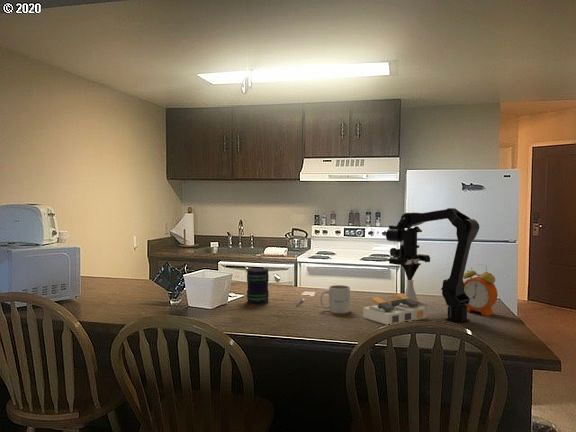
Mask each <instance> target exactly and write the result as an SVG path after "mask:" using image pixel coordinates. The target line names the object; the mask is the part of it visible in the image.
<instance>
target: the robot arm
mask: <svg viewBox="0 0 576 432" xmlns="http://www.w3.org/2000/svg"><path fill="white" fill-rule="evenodd" d="M439 220H449V222H450V223H451V225H453V226H454V227H455V228H456V237H457V238H456V239H457V244H456V249H455V253H454V257H453V258H454V259H453V263H452V266H451V271H450V275H449V278H447V279H443V281H442V287H441V288H440V291H441V295H442V298H444V301H445V305H446V306H447V317H446V318H445V320H446V321H450V322H453V323H458V324H460V323H466V322H469V321H471V320H470V319H469V318H468V312H467V305H465V304H469V301H470V298H469V297H468V296H467V295H466V294H465V292H464V282H465V281H464V279H463V276H464V274H465V271H466V267H467V262H468V258H469V255H470V254H469V253H470V249H471V245H472V243H473V241H475V238H476V237H477V235H478V233H479V231H480V230H479V229H480V223H479V222H478V221H477V220H476V219H474V218H470V217H469V216H467V215H466V214H464V213H462V212H461V211H459V210H458V209H457V208H455V207H450V208H449V207H447V208H445V209H440V210H434V211H433V210H432V211H426V212H404V213H402V215H401V217H400V220H399V221H398V223H397V224H396V225H389V226H388V229H387V231H386V232H385V238H386V240H387V242H396V243H401V242H402V244H401V245H400V246H399V247H400V248H396V247H393V248H390V250H389V255H390V257H389V258H388V263H389V264H390V265H397V266H402V268H403V270H404V272H405V275H406V280H413V278H414V276H415V274H416V272H417V270H418V269H419V267H420V266H422V263H419V262H420V261H421V262H424V263H430V262H431V256H430V255H428V254H421V253H420V254H419V253H418V249H419V248H420V245H419V244H418V233H422V232H423V230H422V229H421V228H420V227H419V225H422V224H424V223H427V222H433V221H439Z"/></svg>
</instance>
